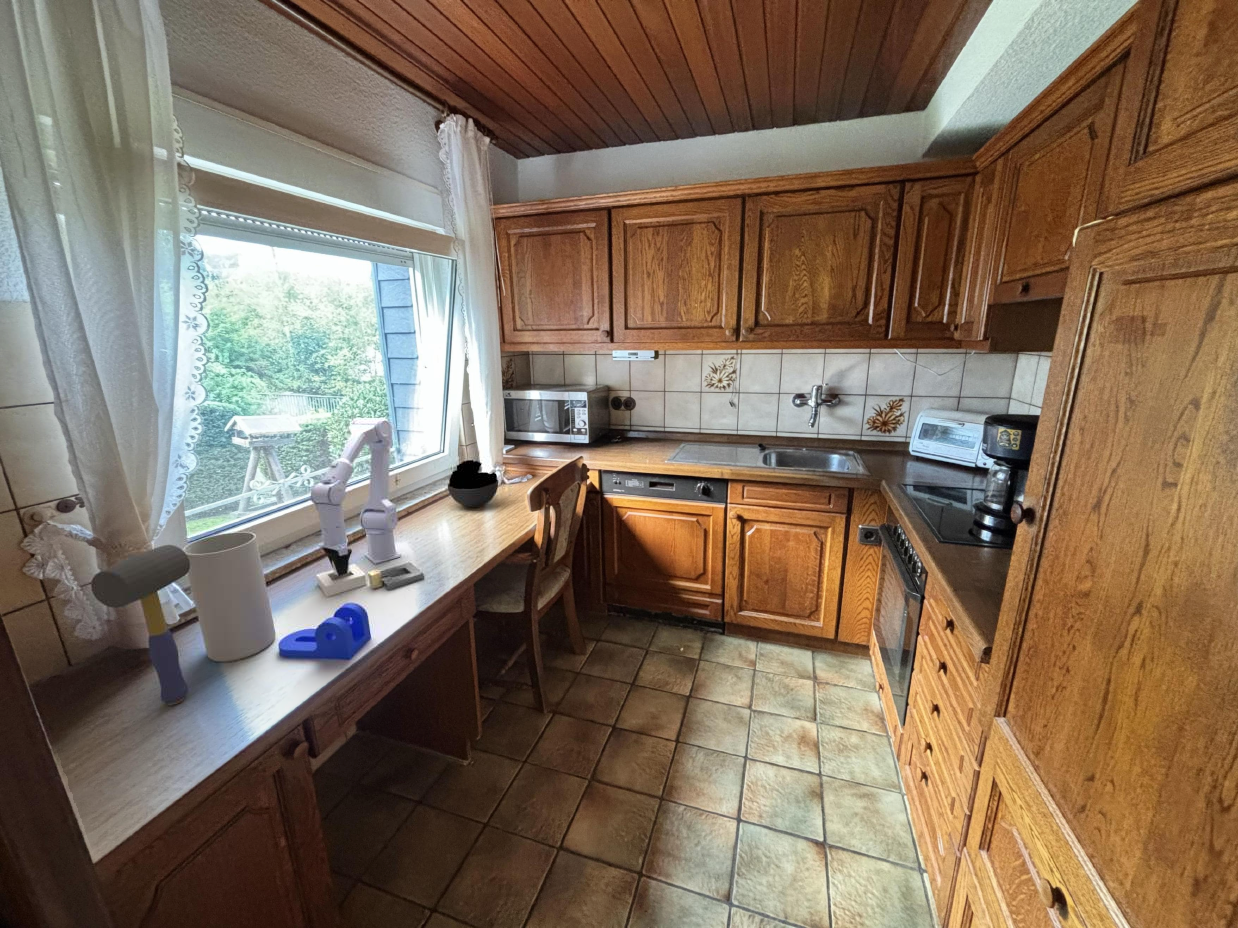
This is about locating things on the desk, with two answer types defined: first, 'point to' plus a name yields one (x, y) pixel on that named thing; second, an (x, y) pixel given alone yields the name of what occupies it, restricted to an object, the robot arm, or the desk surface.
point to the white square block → (341, 581)
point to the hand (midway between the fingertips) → (340, 571)
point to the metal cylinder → (341, 575)
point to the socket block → (407, 568)
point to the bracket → (330, 636)
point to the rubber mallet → (149, 606)
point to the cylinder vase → (230, 595)
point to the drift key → (375, 579)
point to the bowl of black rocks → (472, 484)
